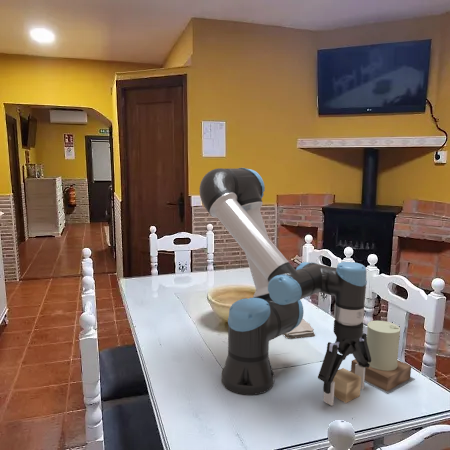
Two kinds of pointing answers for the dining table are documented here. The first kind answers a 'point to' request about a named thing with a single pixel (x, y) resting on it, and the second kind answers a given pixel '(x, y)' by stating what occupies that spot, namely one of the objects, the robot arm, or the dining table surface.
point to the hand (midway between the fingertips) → (344, 395)
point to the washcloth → (301, 331)
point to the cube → (346, 385)
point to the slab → (386, 375)
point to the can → (383, 345)
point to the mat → (392, 388)
